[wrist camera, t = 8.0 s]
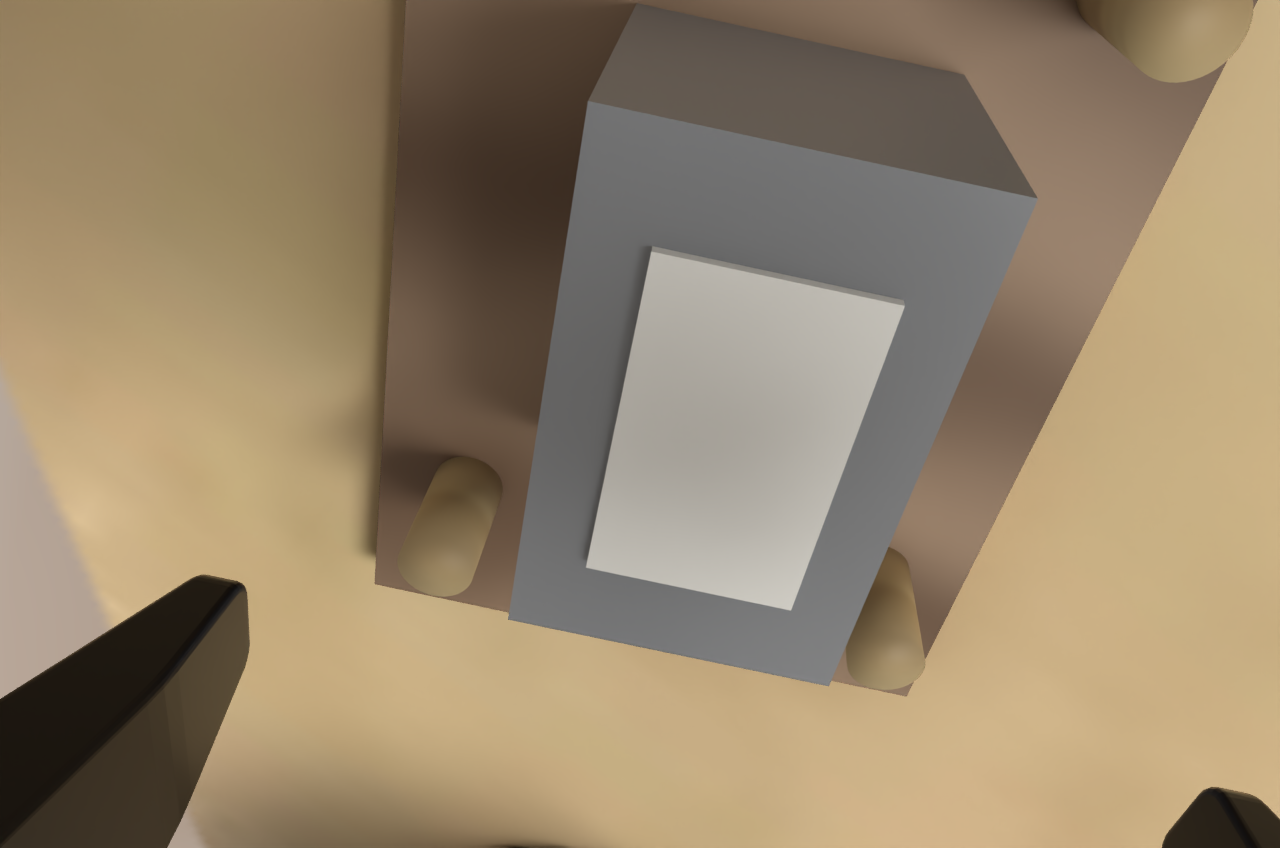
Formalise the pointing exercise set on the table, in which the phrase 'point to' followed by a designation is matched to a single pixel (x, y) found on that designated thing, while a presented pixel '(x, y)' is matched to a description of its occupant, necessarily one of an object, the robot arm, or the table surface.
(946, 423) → the wooden peg board
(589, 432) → the block
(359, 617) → the table surface
